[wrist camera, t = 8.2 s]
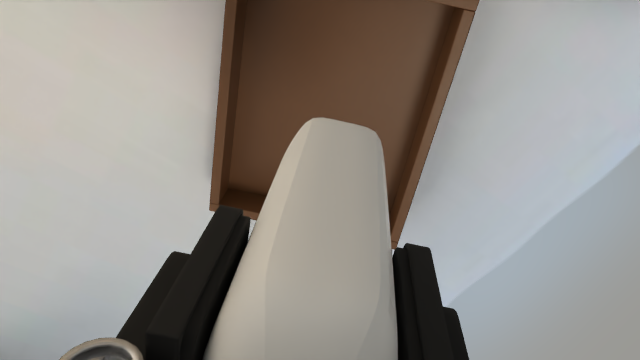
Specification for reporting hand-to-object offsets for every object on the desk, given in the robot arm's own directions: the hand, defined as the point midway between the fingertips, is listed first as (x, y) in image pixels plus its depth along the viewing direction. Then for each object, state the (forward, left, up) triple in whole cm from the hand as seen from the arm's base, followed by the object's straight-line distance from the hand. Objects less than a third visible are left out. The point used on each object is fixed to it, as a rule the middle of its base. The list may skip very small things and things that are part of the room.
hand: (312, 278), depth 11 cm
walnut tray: (+1, -1, -18) cm, 18 cm away
